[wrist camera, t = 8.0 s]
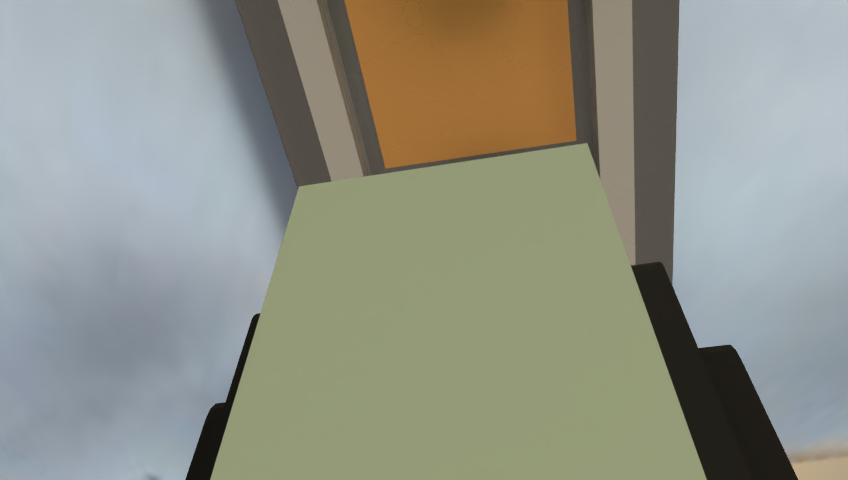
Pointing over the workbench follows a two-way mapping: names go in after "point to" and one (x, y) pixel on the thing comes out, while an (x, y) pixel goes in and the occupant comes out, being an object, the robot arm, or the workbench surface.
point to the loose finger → (457, 335)
